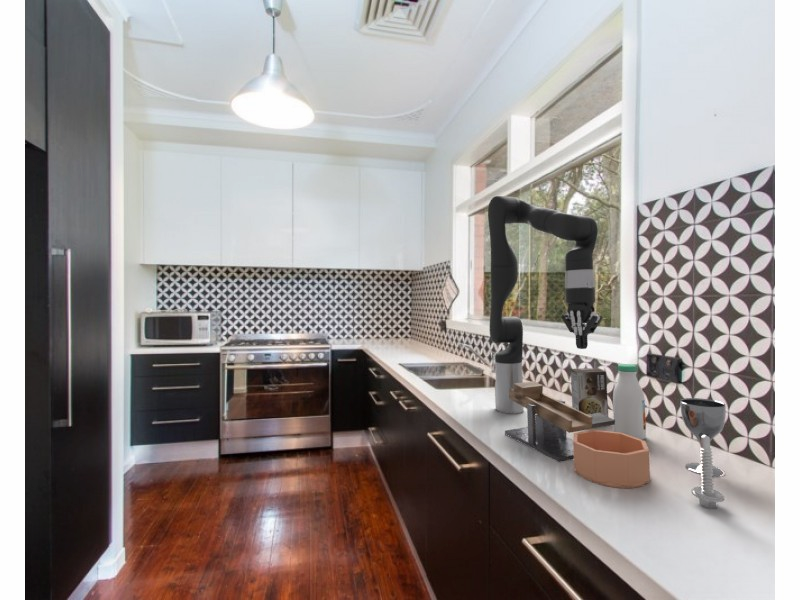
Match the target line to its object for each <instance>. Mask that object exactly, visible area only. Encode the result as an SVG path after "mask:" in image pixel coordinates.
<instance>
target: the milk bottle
mask: <svg viewBox="0 0 800 600" xmlns="http://www.w3.org/2000/svg"><path fill="white" fill-rule="evenodd" d="M617 370H618V379H617V382H616V384H615V386H614V388H613V392H612V393H613V394H612V404H613V405H612V408H613V409H612V410H613V411H612V412H613V419H614V420H615V425H613V432H619V433H624V434H626V435H629V436H632V437H635V438H638V439H641V440H644V441H645V439H646V438H647V424H646V423H647V422H646V401H645V394H644V391H643V388H642V387H641V384H640V383H639V380H638V378H637V374H638V367H637V365H636V364H630V363H620V364H618V365H617Z"/></svg>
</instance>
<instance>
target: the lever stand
mask: <svg viewBox="0 0 800 600" xmlns="http://www.w3.org/2000/svg"><path fill="white" fill-rule="evenodd" d="M557 400H558V401H560V402H562V403H564V404H566V400H562V399H557ZM526 412H527V426H524V427H518V428H512V429H507V430H506V429H505V430H504V435H506V434H507V435H506V436H508V435H509V436H508V437H510V436H511V437H510V438H512V439H514V440H515V441H517V440H518V441H517V442H519V441H520V443H521V442H522V443H521V444H524V445H525V446H527V447H529V448H530V449H533V450H535V451H537V452H538V453H541V454H542V455H545V456H547V457H548V458H550V459H552V460H554V461H556V462H558V463H563V462H567V461H571V460H574V451H573V438H570V437H567V431H565V430H563V429H562V428H560V427H558V426H556V425H555V424H553V423H551V422H549V421H548V420H546V419H544V418H542V417H541V416H539V415H537V414H535V405H532V404H527V408H526Z"/></svg>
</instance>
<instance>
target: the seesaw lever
mask: <svg viewBox="0 0 800 600" xmlns="http://www.w3.org/2000/svg"><path fill="white" fill-rule="evenodd" d="M543 387H544V385H543V384H541V383H538V382H536V381H525V382H523V383H515V384H514V389H509V399H511V400H513V401H514V402H516V403H518V404H520V405H521V406H523V407H524V408H525V409H527V404H532V405H535V415H539V416H541V417H542V418H544V419H546V420H548V421H549V422H551V423H553V424H555V425H556V426H558V427H560V428H562V429H563V430H565V431H566V433H577V432H583V431H589V430H594V429H598V428H603V427H609V426H614V425H615V420H614V418H613V417H612V418H611V417H610V416H608V417H607V416H605V415H603V414H601V413H594V414H585V413H583V412H581V411H579V410H577V409H575V408H573V407H572V405H571V406H570V405H569V404H566V403H565V404H564V403H562V402H560V401H558V400H559V399H556V398H554V397H552V396H550V395H547V394H545V393H543V391H544V389H543Z"/></svg>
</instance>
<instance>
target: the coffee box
mask: <svg viewBox="0 0 800 600" xmlns="http://www.w3.org/2000/svg"><path fill="white" fill-rule="evenodd" d="M570 382H571V383H570V386H571V388H570V389H571V407H573V408H575V409H577V410H579V411H581V412H583V413H585V414H594V413H601V414H603V415H605V416H607V417H609V403H608V402H609V401H608V386H607V385H608V383H607V371H605V370H604V369H602V368H599V367H593V368H592V367H591V368H589V367H588V368H587V367H586V368H584V367H583V368H570Z"/></svg>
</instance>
